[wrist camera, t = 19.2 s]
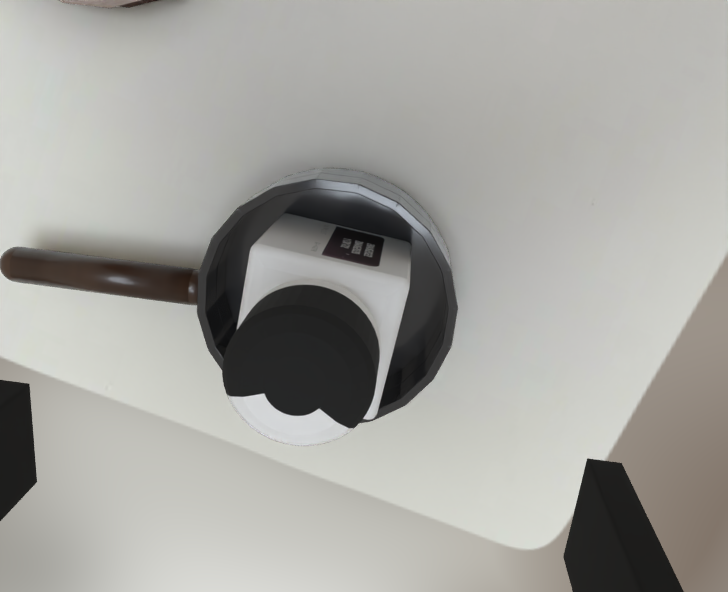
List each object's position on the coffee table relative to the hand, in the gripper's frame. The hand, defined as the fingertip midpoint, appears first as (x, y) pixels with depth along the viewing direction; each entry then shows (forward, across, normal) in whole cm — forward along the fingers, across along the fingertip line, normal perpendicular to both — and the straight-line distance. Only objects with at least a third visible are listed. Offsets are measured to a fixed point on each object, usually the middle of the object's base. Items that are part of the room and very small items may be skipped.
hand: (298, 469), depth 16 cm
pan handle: (+22, -15, -4) cm, 27 cm away
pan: (+25, -2, -4) cm, 25 cm away
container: (+24, -2, -4) cm, 25 cm away
